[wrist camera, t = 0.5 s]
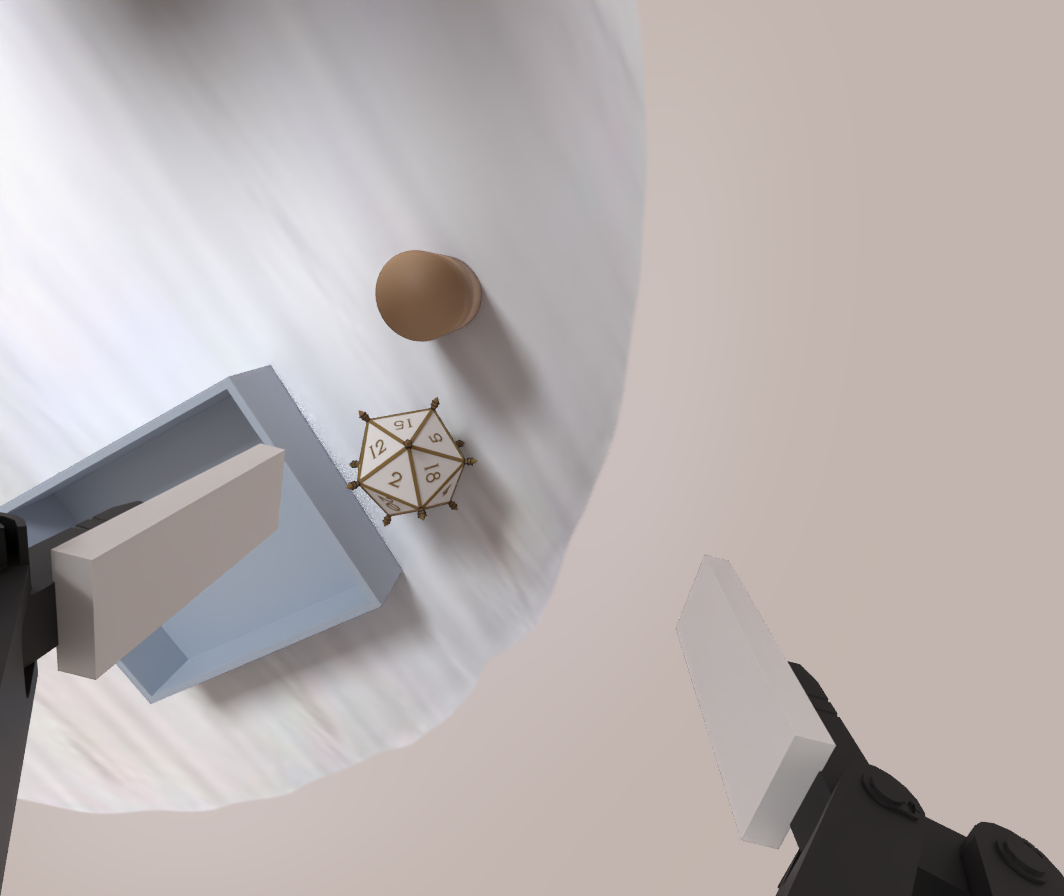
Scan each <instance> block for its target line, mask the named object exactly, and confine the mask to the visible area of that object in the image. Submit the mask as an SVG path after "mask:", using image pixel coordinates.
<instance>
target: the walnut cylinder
mask: <svg viewBox="0 0 1064 896" xmlns="http://www.w3.org/2000/svg"><path fill="white" fill-rule="evenodd" d="M375 295H376V302H377V307H378V309H379V312H380V314H381V316H382V318H383V320H384V321H385V322H386V324H387V325H388V326H389V327H390V328H391V329H392V330H393V331H394V332H396V333H397V334H398V335H400V336H402V337H404V338H407V339H409V340H413V341H430V340H433V339H436V338H439V337H441V336H443V335H445V334H448V333H450V332H452V331H455V330H457V329H459V328H461V327H464V326H465V325H467V324H468V323H469V322H470V321H471V320H472V319H473V318H474V317H475V315H476V314H477V312H478V310H479V307H480V303H481V288H480V284H479V281H478V278H477V276H476V275H475V273H474V272H473V270H472V269H471V268H470V267H469V266H468V265H467V264H466V263H464V262H463V261H461V260H459V259H457V258H454V257H450V256H445V255H440V254H435V253H430V252H425V251H418V250H412V251H406V252H403V253H400V254H398V255H396V256H394V257H393V258H392V259H390V260H389V261H388V262H387V263H386V264H385V266H384V267H383V268H382V270H381V272H380V274H379V276H378V279H377V283H376V294H375Z"/></svg>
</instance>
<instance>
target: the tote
mask: <svg viewBox="0 0 1064 896" xmlns="http://www.w3.org/2000/svg"><path fill="white" fill-rule="evenodd" d="M260 443H261V444H265V445H269V446H273V447H277V448H281V449H285V456H284V467H283V478H282V488H281V499H280V509H279V520H278V529H277V530H276V531H275V532H274V533H272V534H271V535H270V536H269V537H268V538H266V539H265V540H264V541H263V542H262V543H260V544H259V545H258V546H257V547H256V548H254V549H253V550H252V551H251V552H249V553H248V554H247V555H246V556H245V557H243V558H242V559H241V560H240V561H239V562H237V563H236V564H235V565H234V566H233V567H231V568H230V569H229V570H228V571H227V572H225V573H224V574H223V575H222V576H221V577H219V578H218V579H217V580H216V581H215V582H213V583H212V584H211V585H210V586H208V587H207V588H206V589H205V590H204V591H202V592H201V593H200V594H199V595H198V596H196V597H195V598H194V599H193V600H192V601H190V602H189V603H188V604H187V605H186V606H184V607H183V608H182V609H181V610H180V611H178V612H177V613H176V614H175V615H174V616H172V617H171V618H170V619H169V620H167V621H166V622H165V623H164V624H163V625H161V626H160V627H159V628H158V629H157V630H155V631H154V632H153V633H152V634H151V635H149V636H148V637H147V638H146V639H145V640H143V641H142V642H141V643H140V644H139V645H137V646H136V647H135V648H134V649H133V650H131V651H130V652H129V653H128V654H126V655H125V656H124V657H123V658H122V659H120V660H119V661H118V662H117V663H116V664H117V666H118V667H119V668H120V669H121V670H122V671H123V673H124V674H125V675H126V676H127V677H128V678H129V680H130V681H131V682H132V683H133V684H134V685H135V687H136V688H137V689H138V690H139V691H140V692H141V693H142V695H143V696H144V697H145V698H146V699H147V700H148V702H149V703H150V704H152V703H154V702H157V701H159V700H161V699H164V698H166V697H168V696H171V695H173V694H176V693H178V692H180V691H183V690H185V689H187V688H190V687H192V686H194V685H197V684H199V683H201V682H204V681H206V680H209V679H211V678H213V677H216V676H218V675H220V674H223V673H225V672H227V671H230V670H232V669H234V668H237V667H239V666H241V665H244V664H246V663H249V662H251V661H253V660H256V659H258V658H260V657H263V656H265V655H267V654H270V653H272V652H274V651H277V650H279V649H282V648H284V647H286V646H289V645H291V644H293V643H296V642H298V641H300V640H303V639H305V638H307V637H310V636H312V635H315V634H317V633H319V632H322V631H324V630H326V629H329V628H331V627H333V626H336V625H338V624H340V623H343V622H345V621H348V620H350V619H352V618H355V617H357V616H359V615H362V614H364V613H366V612H369V611H371V610H373V609H376V608H378V607H381V606H382V605H383V603H384V601H385V600H386V598H387V596H388V594H389V593H390V591H391V589H392V587H393V586H394V584H395V582H396V580H397V579H398V577H399V575H400V573H401V572H402V569H401V568H400V566H399V564H398V563H397V561H396V560H395V558H394V557H393V555H392V554H391V552H390V550H389V549H388V547H387V546H386V544H385V543H384V541H383V540H382V538H381V536H380V535H379V533H378V532H377V530H376V529H375V527H374V526H373V524H372V522H371V521H370V519H369V518H368V516H367V515H366V513H365V512H364V510H363V508H362V507H361V505H360V504H359V502H358V501H357V499H356V498H355V496H354V494H353V493H352V491H351V490H350V489H347V488H346V487H347V486H348V485H347V484H346V482H345V480H344V479H343V477H342V476H341V474H340V473H339V471H338V470H337V468H336V466H335V465H334V463H333V462H332V460H331V459H330V457H329V456H328V454H327V452H326V451H325V449H324V448H323V446H322V445H321V443H320V442H319V440H318V438H317V437H316V435H315V434H314V432H313V431H312V429H311V428H310V426H309V424H308V423H307V421H306V420H305V418H304V417H303V415H302V414H301V412H300V411H299V409H298V407H297V406H296V404H295V403H294V401H293V400H292V398H291V397H290V395H289V393H288V392H287V390H286V389H285V387H284V386H283V384H282V383H281V381H280V379H279V378H278V376H277V375H276V373H275V372H274V370H273V369H272V367H271V365H269V366H265V367H262V368H258V369H254V370H251V371H247V372H244V373H240V374H237V375H233V376H230V377H227V378H225V379H224V380H222V381H220V382H218V383H217V384H215V385H213V386H211V387H210V388H208V389H206V390H204V391H203V392H201V393H199V394H197V395H196V396H194V397H192V398H190V399H189V400H187V401H185V402H183V403H182V404H180V405H178V406H176V407H174V408H173V409H171V410H169V411H167V412H166V413H164V414H162V415H160V416H159V417H157V418H155V419H153V420H152V421H150V422H148V423H146V424H145V425H143V426H141V427H139V428H138V429H136V430H134V431H132V432H131V433H129V434H127V435H125V436H124V437H122V438H120V439H118V440H116V441H115V442H113V443H111V444H109V445H108V446H106V447H104V448H102V449H101V450H99V451H97V452H95V453H94V454H92V455H90V456H88V457H87V458H85V459H83V460H81V461H80V462H78V463H76V464H74V465H73V466H71V467H69V468H67V469H66V470H64V471H62V472H60V473H58V474H57V475H55V476H53V477H51V478H50V479H48V480H46V481H44V482H43V483H41V484H39V485H37V486H36V487H34V488H32V489H30V490H29V491H27V492H25V493H23V494H22V495H20V496H18V497H16V498H15V499H13V500H11V501H9V502H7V503H6V504H4V505H2V506H0V512H3V513H8V514H14V515H17V516H19V517H21V518H23V519H25V522H26V525H27V536H28V548H29V547H31V546H33V545H35V544H37V543H39V542H41V541H44V540H46V539H48V538H50V537H52V536H54V535H56V534H58V533H60V532H62V531H64V530H66V529H68V528H70V527H72V528H74V527H75V525H77V524H79V523H81V522H83V521H85V520H87V519H92V517H93V516H95V515H97V514H99V513H102V512H104V511H106V510H108V509H110V508H112V507H115V506H119V505H123V504H127V503H131V502H135V501H142V502H146V501H148V500H150V499H152V498H154V497H156V496H158V495H160V494H162V493H164V492H166V491H168V490H170V489H172V488H173V487H175V486H177V485H179V484H181V483H183V482H185V481H187V480H189V479H191V478H193V477H195V476H197V475H199V474H201V473H203V472H205V471H207V470H209V469H211V468H213V467H215V466H217V465H219V464H221V463H223V462H225V461H227V460H229V459H231V458H233V457H235V456H237V455H239V454H241V453H243V452H245V451H247V450H248V449H250V448H252V447H254V446H256V445H258V444H260Z"/></svg>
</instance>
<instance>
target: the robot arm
mask: <svg viewBox="0 0 1064 896" xmlns="http://www.w3.org/2000/svg"><path fill="white" fill-rule="evenodd" d="M284 456H285V449H281V448H277V447H273V446H269V445H265V444H261V443H260V444H258V445H256V446H254V447H252V448H250V449H248V450H247V451H245V452H243V453H241V454H239V455H237V456H235V457H233V458H231V459H229V460H227V461H225V462H223V463H221V464H219V465H217V466H215V467H213V468H211V469H209V470H207V471H205V472H203V473H201V474H199V475H197V476H195V477H193V478H191V479H189V480H187V481H185V482H183V483H181V484H179V485H177V486H175V487H173V488H172V489H170V490H168V491H166V492H164V493H162V494H160V495H158V496H156V497H154V498H152V499H150V500H148V501H146V502H142V501H135V502H131V503H127V504H123V505H119V506H115V507H112V508H110V509H108V510H106V511H104V512H102V513H99V514H97V515H95V516H93V517H92V519H87V520H85V521H83V522H81V523H79V524H77V525H75V527H74V528H72V527H70V528H68V529H66V530H64V531H62V532H60V533H58V534H56V535H54V536H52V537H50V538H48V539H46V540H44V541H41V542H39V543H37V544H35V545H33V546H31V547H29V548H28V536H27V525H26V522H25V519H23V518H21V517H19V516H17V515H14V514H8V513H3V512H0V894H1V888H2V882H3V877H4V870H5V865H6V859H7V853H8V847H9V841H10V835H11V829H12V823H13V817H14V812H15V806H16V800H17V794H18V788H19V783H20V777H21V771H22V765H23V759H24V753H25V747H26V741H27V735H28V730H29V724H30V718H31V712H32V706H33V700H34V694H35V688H36V683H37V677H38V668H37V659H39V658H40V657H42V656H43V655H45V654H46V653H47V652H49V651H50V650H52V649H53V648H55V647H56V646H57V663H58V671H62V672H66V673H70V674H74V675H78V676H82V677H86V678H90V679H94V680H96V679H98V678H99V677H100V676H101V675H102V674H104V673H105V672H106V671H107V670H108V669H110V668H111V667H112V666H113V665H114V664H116V663H117V662H118V661H119V660H120V659H122V658H123V657H124V656H125V655H126V654H128V653H129V652H130V651H131V650H133V649H134V648H135V647H136V646H137V645H139V644H140V643H141V642H142V641H143V640H145V639H146V638H147V637H148V636H149V635H151V634H152V633H153V632H154V631H155V630H157V629H158V628H159V627H160V626H161V625H163V624H164V623H165V622H166V621H167V620H169V619H170V618H171V617H172V616H174V615H175V614H176V613H177V612H178V611H180V610H181V609H182V608H183V607H184V606H186V605H187V604H188V603H189V602H190V601H192V600H193V599H194V598H195V597H196V596H198V595H199V594H200V593H201V592H202V591H204V590H205V589H206V588H207V587H208V586H210V585H211V584H212V583H213V582H215V581H216V580H217V579H218V578H219V577H221V576H222V575H223V574H224V573H225V572H227V571H228V570H229V569H230V568H231V567H233V566H234V565H235V564H236V563H237V562H239V561H240V560H241V559H242V558H243V557H245V556H246V555H247V554H248V553H249V552H251V551H252V550H253V549H254V548H256V547H257V546H258V545H259V544H260V543H262V542H263V541H264V540H265V539H266V538H268V537H269V536H270V535H271V534H272V533H274V532H275V531H276V530H277V529H278V520H279V509H280V499H281V488H282V478H283V467H284ZM676 631H677V634H678V637H679V641H680V644H681V647H682V650H683V653H684V657H685V660H686V663H687V667H688V670H689V673H690V676H691V680H692V683H693V686H694V689H695V693H696V696H697V699H698V702H699V706H700V709H701V712H702V715H703V719H704V722H705V725H706V728H707V731H708V735H709V738H710V741H711V745H712V748H713V751H714V754H715V758H716V761H717V764H718V767H719V770H720V774H721V777H722V780H723V783H724V787H725V790H726V793H727V796H728V800H729V803H730V806H731V809H732V813H733V816H734V819H735V822H736V826H737V829H738V832H739V835H740V839H741V840H743V841H747V842H751V843H755V844H759V845H763V846H767V847H771V848H775V849H779V847H780V846H781V844H782V842H783V840H784V838H785V836H786V835H787V833H788V831H789V829H790V827H791V829H792V832H793V834H794V837H795V839H796V842H797V844H798V846H799V850H798V852H797V854H796V855H795V857H794V859H793V861H792V863H791V864H790V866H789V868H788V869H787V871H786V873H785V875H784V876H783V878H782V880H781V882H780V884H779V885H778V888H779V890H778V892H777V894H776V896H1064V877H1063V875H1062V874H1061V873H1060V871H1059V870H1057V868H1056V867H1055V866H1054V865H1053V864H1052V863H1051V862H1050V861H1049V859H1048V858H1047V857H1046V856H1045V855H1044V854H1043V853H1042V852H1041V851H1039V850H1038V849H1037V848H1035V847H1034V846H1033V845H1032V844H1031V843H1029V842H1028V841H1027V840H1025V839H1023V838H1021V837H1019V836H1018V835H1016V834H1015V833H1013V832H1012V831H1010V830H1008V829H1006V828H1003V827H1001V826H999V825H996V824H994V823H988V822H980V823H978V824H977V825H975V826H974V828H973V829H972V830H971V832H970V833H969V835H968V836H967V837H965V836H963V835H961V834H959V833H957V832H955V831H953V830H951V829H949V828H947V827H945V826H943V825H941V824H939V823H937V822H935V821H933V820H931V819H929V818H927V817H925V813H924V811H923V809H922V807H921V806H920V804H919V802H918V801H917V799H916V798H915V797H914V796H913V795H912V794H911V793H910V792H909V790H908V789H907V788H906V787H905V786H904V785H902V784H901V783H900V782H899V781H897V780H896V779H895V778H894V777H892V776H891V775H890V774H888V773H886V772H884V771H883V770H881V769H879V768H877V767H876V766H872V765H870V764H869V763H868V762H867V760H866V759H865V757H864V755H863V754H862V752H861V751H860V749H859V747H858V746H857V744H856V743H855V741H854V739H853V738H852V736H851V735H850V733H849V731H848V730H847V728H846V727H845V725H844V723H843V722H842V720H841V719H840V717H837V712H836V711H835V709H834V707H833V706H832V704H831V703H830V702H828V698H827V696H826V695H825V693H824V691H823V690H822V688H821V687H820V685H819V683H818V682H817V681H816V680H815V679H814V678H813V677H812V676H811V675H810V674H809V673H808V672H807V671H806V670H805V669H804V668H803V667H802V666H801V665H800V664H797V663H793V662H789V661H787V660H786V658H785V657H784V655H783V654H782V651H781V650H780V648H779V646H778V645H777V643H776V641H775V640H774V638H773V636H772V634H771V632H770V631H769V629H768V627H767V626H766V624H765V622H764V620H763V619H762V617H761V615H760V614H759V612H758V610H757V608H756V607H755V605H754V603H753V601H752V600H751V598H750V596H749V594H748V593H747V591H746V589H745V588H744V586H743V584H742V582H741V581H740V579H739V577H738V575H737V574H736V572H735V570H734V569H733V567H732V565H731V563H730V562H729V561H728V560H724V559H720V558H716V557H712V556H708V555H704V558H703V560H702V563H701V565H700V568H699V571H698V573H697V576H696V578H695V581H694V584H693V586H692V588H691V591H690V594H689V596H688V599H687V601H686V604H685V606H684V609H683V612H682V614H681V617H680V619H679V622H678V624H677V627H676Z"/></svg>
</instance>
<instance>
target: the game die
mask: <svg viewBox="0 0 1064 896" xmlns="http://www.w3.org/2000/svg"><path fill="white" fill-rule="evenodd" d="M439 404H440V403H439V400H438V397H437V398H435V399H434V400H432V404H431V408H429V409H423V410H417V411H412V412H406V413H400V414H395V415H389V416H383V417H378V418H372V419H370V418H369V416H368V415H367V414H366V412H363V411H359V415H360V417H359V418H361V419H362V420H364V421H366V428H365V433H364V438H363V443H362V448H361V453H360V458H359V462H358V461H357V460H356V461H354V460H353V461H352V462H351V463H350V464H349V465H350V466H351V467H352V468H357V467H358V478H357V481H353V482H350V483H349V484H348V486H347V487H346V488H347V489H352V490H354V489H357V487H358V486H360V487H361V488H362V489H363V490H364V491H365V492H366V493H367V494H368V495H369V496H370V497H371V498H372V499H373V500H374V501H375V502H376V503H377V505H378V506H379V507H380V508H381V509H382V510H383V511H384V512H385V513H386V514H387V515H386V517H384V520H383V522H384V526H386V525H388V524H390V521H391V516H395V515H401V514H406V513H411V512H416V511H418V518H421V519H422V520H424V518H425V517H426V516H427V515H426V512H425V509H429V508H433V507H437V506H441V505H445V504H449V507H451V509H452V510H453V509H454V510H458V509H457V504H456V503H455V502H453V501H452V500H451V499H452V497H453V494H454V492H455V489H456V486H457V484H458V481H459V479H460V476H461V473H462V471H463V468H464V466H465V464H468V466H469V465H472V466H473V464H474V463H476V462H477V460H475V459H474V458H467V459H465V458H464V456H463V455H462V453H461V451H460V450H459V447H462V446H463V444H464V442H463V441H460V440H459V441H456V443H455V442H454V440H453V438H452V437H451V435H450V433H449V432H448V430H447V429H446V427H445V425H444V424H443V422H442V420H441V419H440V417H439V416H438V414H437V412H436V411H435V409H436V408H437V407H438V405H439Z"/></svg>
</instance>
